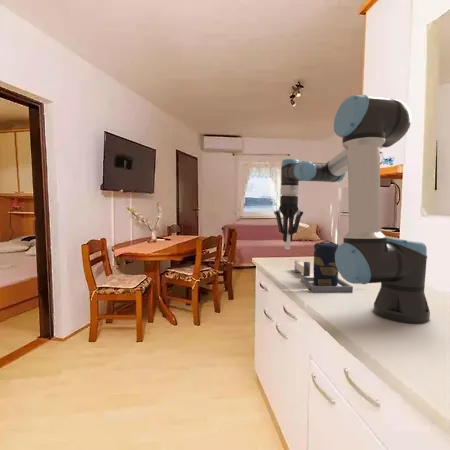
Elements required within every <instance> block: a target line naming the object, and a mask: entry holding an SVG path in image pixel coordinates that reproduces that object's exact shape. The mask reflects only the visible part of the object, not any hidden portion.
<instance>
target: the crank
mask: <svg viewBox="0 0 450 450" xmlns="http://www.w3.org/2000/svg"><path fill="white" fill-rule="evenodd" d="M293 270H294V271H295V272H301V273H300V274H302V275H303V277H310V276H311V262H310V261H303V260H298V259H296V260H295V259H294V269H293Z"/></svg>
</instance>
